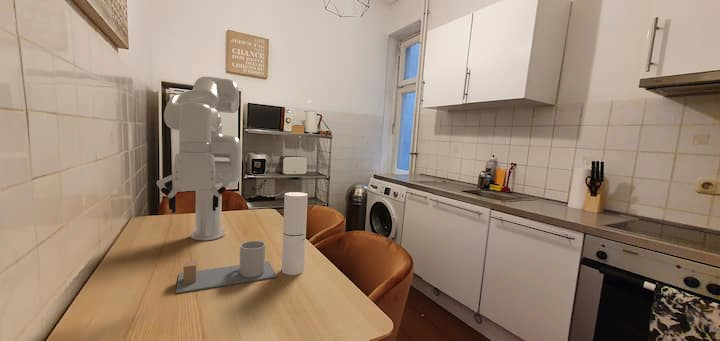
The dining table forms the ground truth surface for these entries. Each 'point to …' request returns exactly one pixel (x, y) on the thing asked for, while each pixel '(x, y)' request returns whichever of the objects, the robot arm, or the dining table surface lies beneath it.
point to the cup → (252, 259)
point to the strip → (215, 277)
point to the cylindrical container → (294, 233)
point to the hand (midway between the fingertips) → (194, 211)
